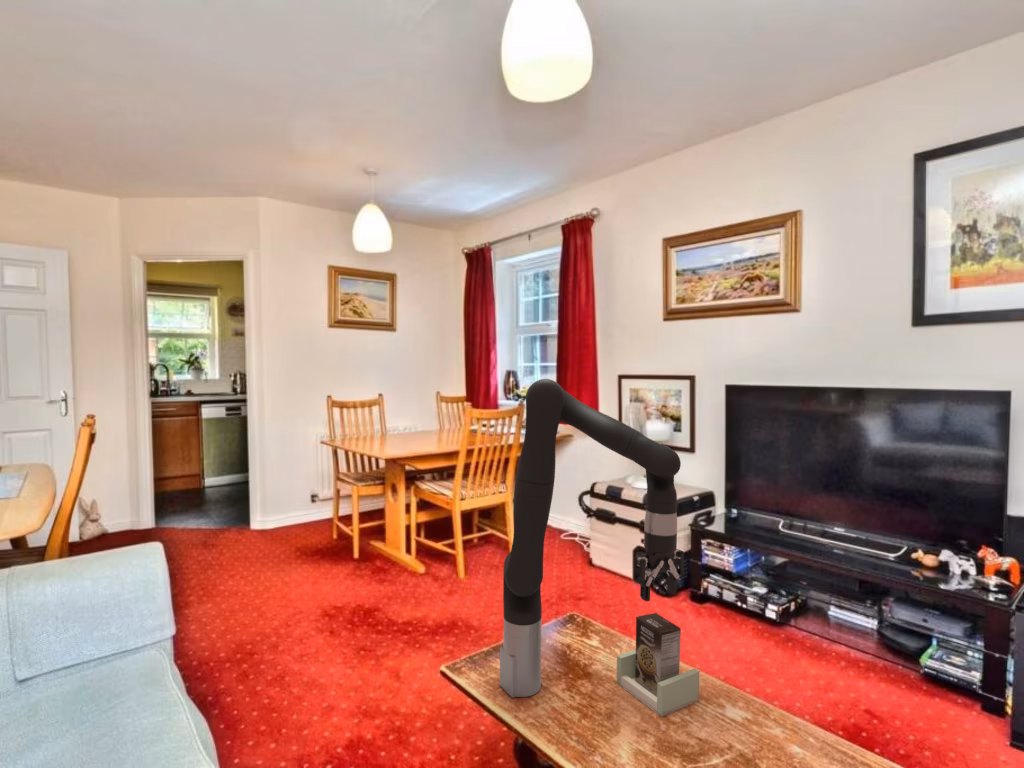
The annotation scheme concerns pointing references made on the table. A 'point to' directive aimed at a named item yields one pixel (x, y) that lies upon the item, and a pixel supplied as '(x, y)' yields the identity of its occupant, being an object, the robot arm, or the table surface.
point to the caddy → (659, 687)
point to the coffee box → (656, 651)
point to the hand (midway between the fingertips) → (658, 596)
